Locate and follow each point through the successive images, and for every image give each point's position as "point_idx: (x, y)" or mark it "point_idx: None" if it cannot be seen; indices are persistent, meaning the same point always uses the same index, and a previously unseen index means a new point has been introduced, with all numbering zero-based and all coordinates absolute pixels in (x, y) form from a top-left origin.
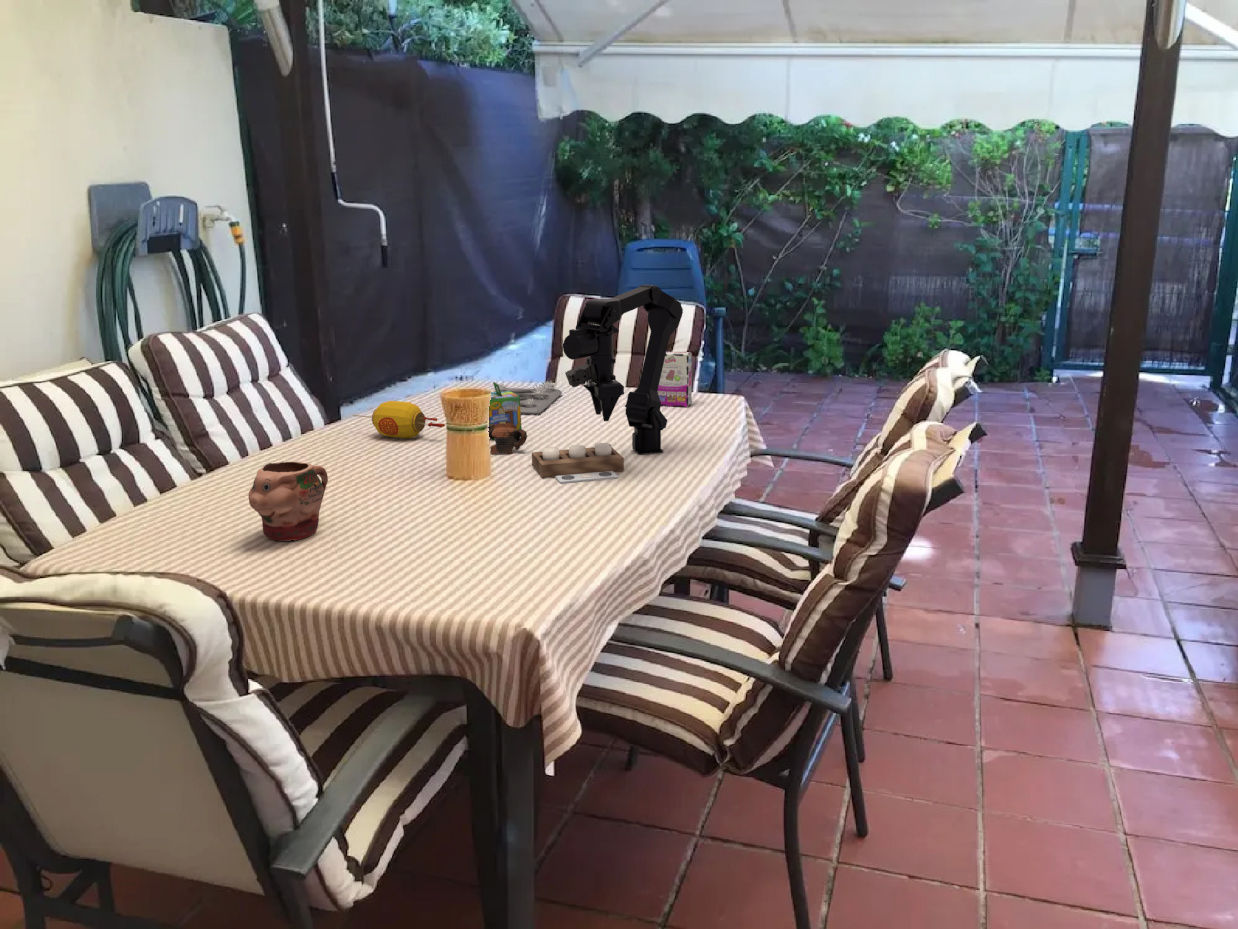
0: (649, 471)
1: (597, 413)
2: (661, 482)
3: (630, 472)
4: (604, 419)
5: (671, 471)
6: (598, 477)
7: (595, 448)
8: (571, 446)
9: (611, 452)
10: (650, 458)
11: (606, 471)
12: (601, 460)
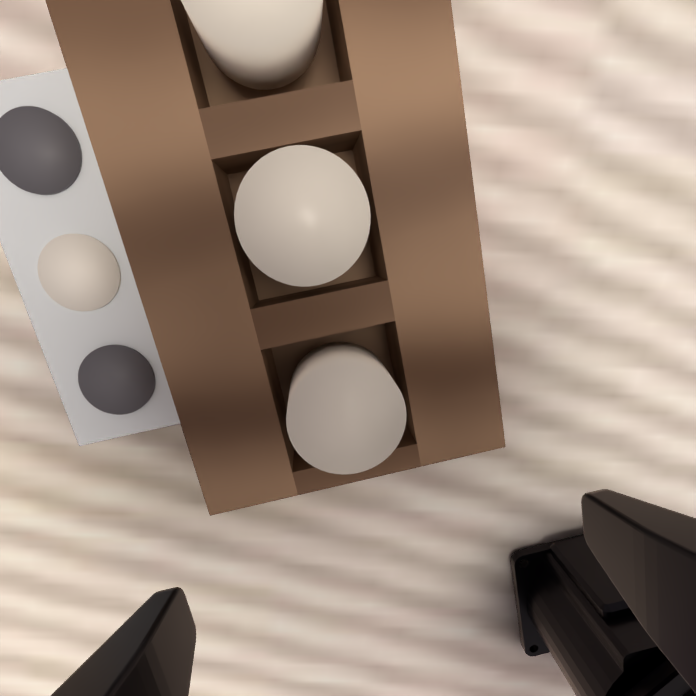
0: (212, 585)
1: (591, 513)
2: (15, 629)
3: (198, 502)
4: (135, 617)
5: (208, 671)
6: (57, 339)
7: (326, 359)
8: (329, 170)
9: None
10: (441, 594)
11: None
12: (170, 381)
